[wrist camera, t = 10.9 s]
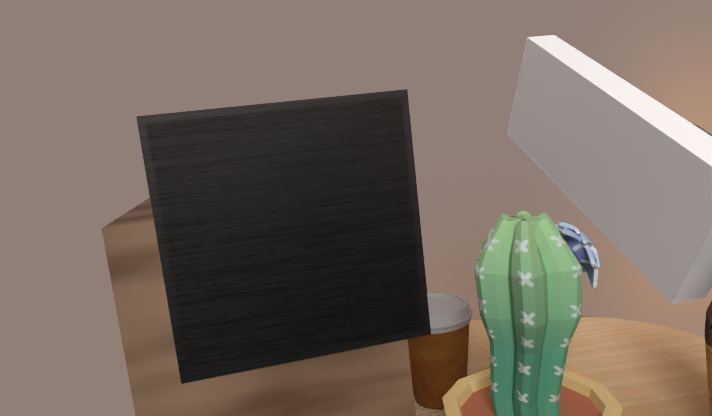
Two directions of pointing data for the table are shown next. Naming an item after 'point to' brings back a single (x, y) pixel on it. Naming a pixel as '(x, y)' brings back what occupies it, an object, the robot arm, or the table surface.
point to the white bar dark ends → (286, 230)
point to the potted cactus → (531, 323)
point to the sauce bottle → (709, 352)
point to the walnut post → (244, 389)
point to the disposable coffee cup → (440, 349)
